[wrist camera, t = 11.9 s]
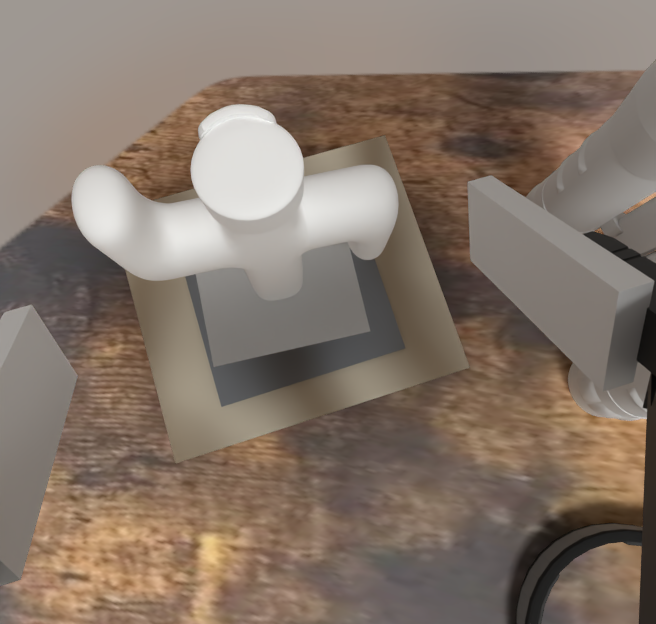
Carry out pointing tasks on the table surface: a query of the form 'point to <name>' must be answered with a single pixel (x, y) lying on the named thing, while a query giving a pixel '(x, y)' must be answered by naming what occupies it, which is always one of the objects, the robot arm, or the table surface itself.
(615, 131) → the binoculars
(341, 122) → the table surface
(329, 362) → the bridge shelf
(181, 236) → the figurine
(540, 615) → the headset
